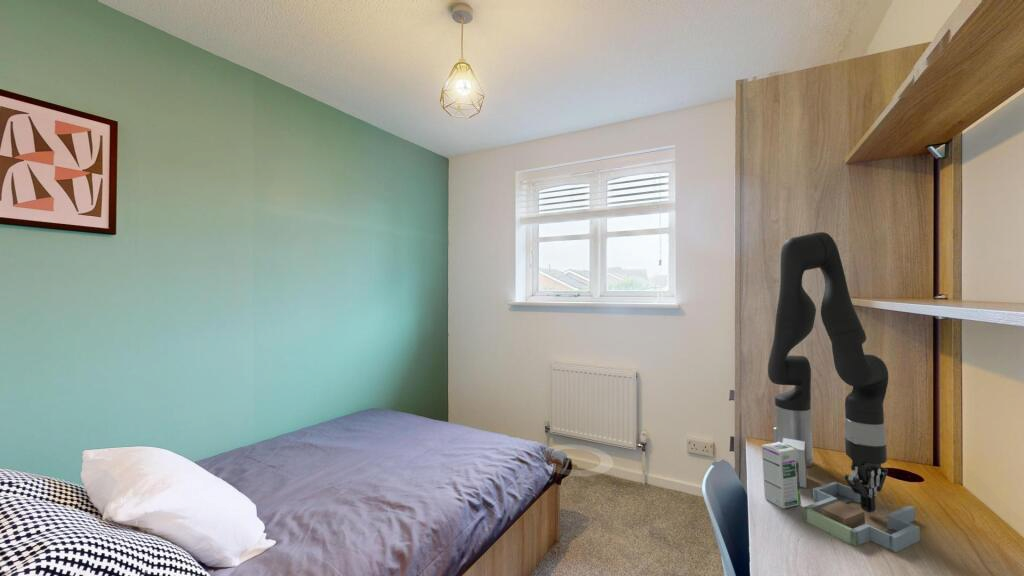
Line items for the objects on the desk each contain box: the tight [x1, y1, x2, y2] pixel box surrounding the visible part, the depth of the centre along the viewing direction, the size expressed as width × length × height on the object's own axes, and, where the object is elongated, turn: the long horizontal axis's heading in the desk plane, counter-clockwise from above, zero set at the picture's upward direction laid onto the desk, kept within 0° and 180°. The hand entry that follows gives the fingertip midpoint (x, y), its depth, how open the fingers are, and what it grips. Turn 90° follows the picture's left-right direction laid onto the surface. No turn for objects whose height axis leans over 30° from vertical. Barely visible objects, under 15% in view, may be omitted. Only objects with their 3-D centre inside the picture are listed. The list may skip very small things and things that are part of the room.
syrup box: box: [761, 442, 802, 510], centre depth 106 cm, size 6×6×14 cm
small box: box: [782, 438, 808, 489], centre depth 116 cm, size 8×6×10 cm
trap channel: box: [801, 481, 921, 553], centre depth 96 cm, size 20×22×3 cm
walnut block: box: [821, 501, 866, 529], centre depth 94 cm, size 5×7×4 cm
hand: (868, 510), depth 98 cm, fingers closed
